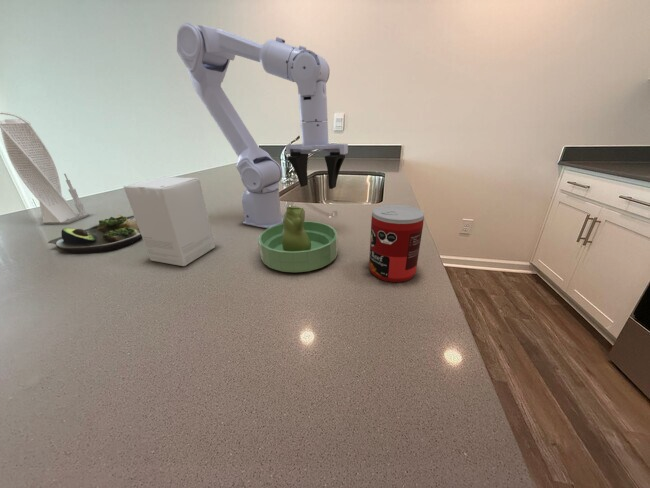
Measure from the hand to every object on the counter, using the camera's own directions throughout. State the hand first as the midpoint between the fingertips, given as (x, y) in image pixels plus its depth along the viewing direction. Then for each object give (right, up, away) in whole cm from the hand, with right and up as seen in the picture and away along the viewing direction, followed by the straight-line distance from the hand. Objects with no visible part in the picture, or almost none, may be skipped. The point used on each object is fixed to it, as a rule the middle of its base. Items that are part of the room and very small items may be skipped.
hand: (317, 186), depth 60 cm
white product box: (-27, -16, -6) cm, 32 cm away
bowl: (-3, -16, -8) cm, 18 cm away
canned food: (+13, -18, -14) cm, 27 cm away
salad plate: (-50, -12, +2) cm, 52 cm away
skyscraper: (-74, -7, +15) cm, 76 cm away
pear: (-4, -16, -10) cm, 19 cm away
